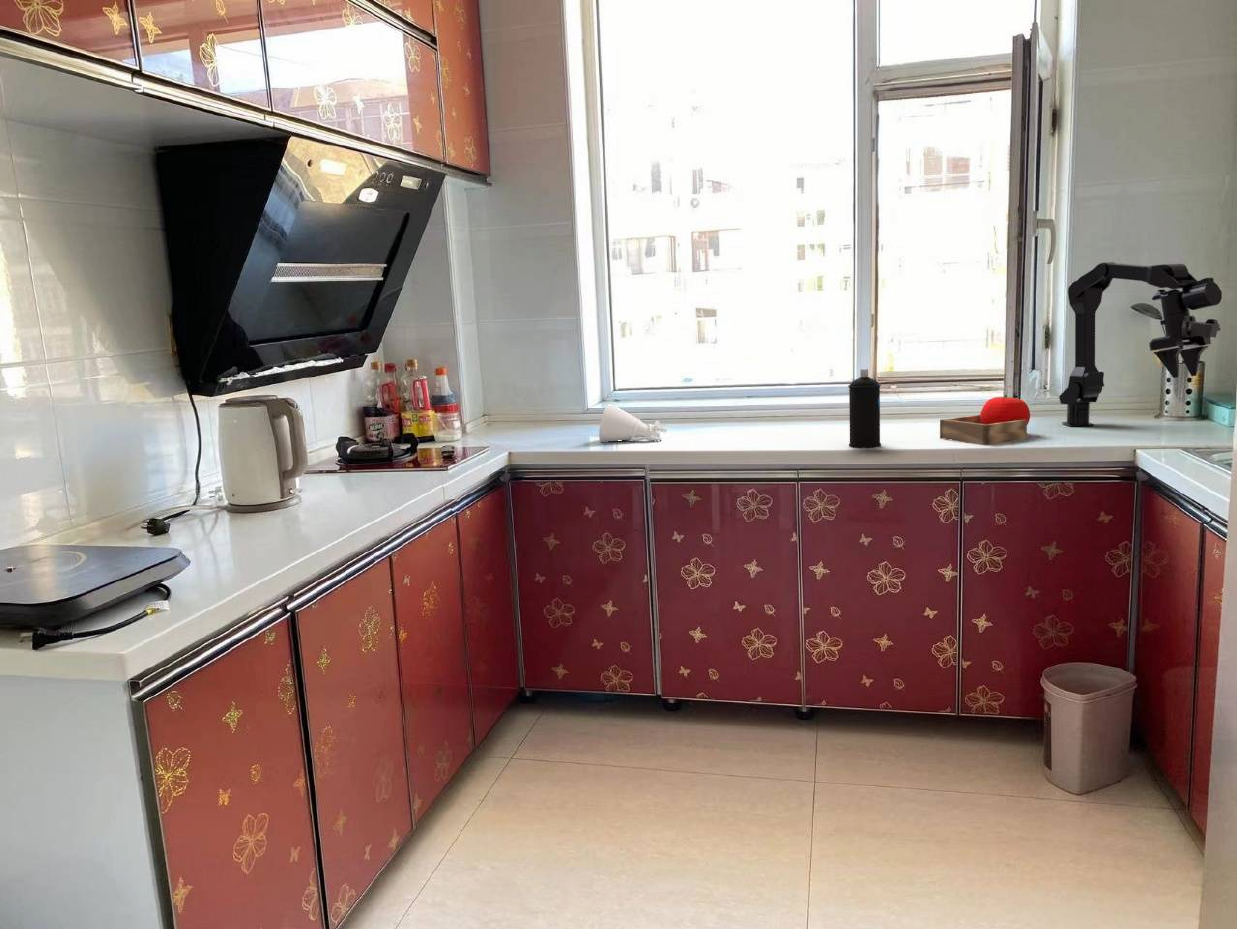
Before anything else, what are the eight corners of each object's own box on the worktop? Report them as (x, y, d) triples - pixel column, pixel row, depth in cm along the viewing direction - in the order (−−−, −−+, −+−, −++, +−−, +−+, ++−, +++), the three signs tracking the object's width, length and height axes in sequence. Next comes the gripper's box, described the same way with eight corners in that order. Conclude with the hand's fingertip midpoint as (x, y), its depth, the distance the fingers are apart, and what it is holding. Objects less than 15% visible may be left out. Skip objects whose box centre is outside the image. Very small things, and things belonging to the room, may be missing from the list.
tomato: (970, 433, 260) (973, 394, 258) (1006, 431, 264) (1009, 393, 263) (1000, 437, 250) (1003, 396, 248) (1037, 436, 254) (1040, 396, 252)
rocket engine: (669, 407, 277) (610, 395, 281) (658, 437, 271) (598, 424, 275) (669, 433, 286) (612, 421, 290) (659, 462, 280) (600, 450, 284)
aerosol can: (861, 449, 247) (860, 371, 244) (842, 445, 255) (841, 369, 251) (887, 445, 250) (887, 368, 247) (868, 442, 258) (867, 367, 254)
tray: (979, 432, 264) (979, 414, 263) (1026, 438, 250) (1026, 419, 249) (939, 438, 258) (940, 419, 257) (985, 444, 244) (986, 425, 243)
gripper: (1192, 307, 226) (1201, 373, 226) (1228, 306, 237) (1237, 369, 236) (1144, 317, 235) (1153, 380, 235) (1181, 316, 246) (1190, 377, 245)
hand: (1185, 376), depth 238 cm, fingers open, 9 cm apart
